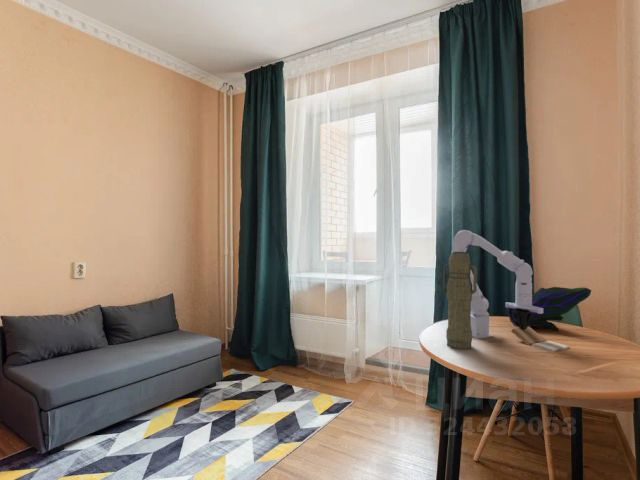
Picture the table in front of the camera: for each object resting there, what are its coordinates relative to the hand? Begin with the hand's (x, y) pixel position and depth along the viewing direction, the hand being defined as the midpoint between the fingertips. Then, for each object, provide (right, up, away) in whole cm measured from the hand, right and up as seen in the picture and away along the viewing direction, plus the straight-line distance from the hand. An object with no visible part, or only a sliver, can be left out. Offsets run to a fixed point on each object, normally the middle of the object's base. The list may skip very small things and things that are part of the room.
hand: (523, 328), depth 145 cm
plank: (+1, -3, -2) cm, 3 cm away
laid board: (+5, -5, -9) cm, 12 cm away
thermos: (-28, -5, -7) cm, 29 cm away
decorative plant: (+21, -5, +23) cm, 31 cm away
